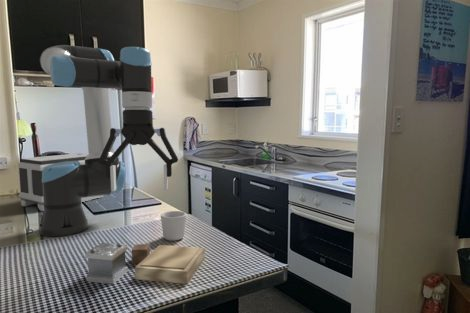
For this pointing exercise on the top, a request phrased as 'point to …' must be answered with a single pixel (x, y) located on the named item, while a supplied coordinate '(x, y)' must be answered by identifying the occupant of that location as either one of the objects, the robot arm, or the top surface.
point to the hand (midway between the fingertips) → (140, 189)
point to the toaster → (33, 177)
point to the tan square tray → (170, 264)
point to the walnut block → (140, 252)
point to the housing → (106, 263)
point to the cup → (173, 225)
